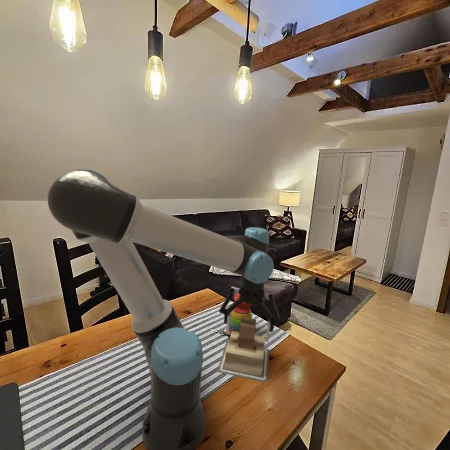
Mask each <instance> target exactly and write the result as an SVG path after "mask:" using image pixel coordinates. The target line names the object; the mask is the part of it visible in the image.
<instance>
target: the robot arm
mask: <svg viewBox="0 0 450 450" xmlns="http://www.w3.org/2000/svg"><path fill="white" fill-rule="evenodd" d="M47 206H48V209H49V211H50V213H51V215H52V217H53V218H54V219H55V220H56V221H57V222H58V223H59V224H60V225H62V226H63V227H64V228H66V229H69V230H71V231H72V233H73V235H74V236H75V238H76V240H78V241H82V242H84V243H85V242H86V243H88V245H89V247H90V248H91V250H92V251H93V253H94V255H95V256H96V258H97V261H99V264H100V265H101V267H102V268H103V271H105V274H106V275H107V276H108V278H109V280H110V282H111V284H112V285H113V287H114V288H115V290H116V291H117V294H118V295H119V296H120V298H121V300H122V302H123V303H124V305H125V307H126V308H127V310H128V312H129V314H130V315H131V316H132V317H131V318H132V320H131V323H130V325H131V328H132V331H133V333H134V334H135V336H136V338H137V340H138V341H139V342H140V344H141V345H142V348H143V352H144V355H145V358H146V362H147V366H148V370H149V374H150V402H149V404H148V406H147V409H146V411H145V414H144V415H143V416H144V417H143V419H142V420H143V421H142V428H141V429H142V433H141V434H142V440H143V443H144V445H145V448H146V449H147V450H196V448H197V447H199V445H200V443H201V441H202V439H203V438H204V436H205V431H206V412H205V409H204V407H203V403H202V400H201V387H202V384H201V383H202V370H203V362H204V354H203V353H204V351H203V345H202V342H201V340H200V337H199V336H198V335H197V334H196V333H195V332H194V331H191V330H189V331H188V329H187V328H185V327H184V325H183V323H182V321H181V320H180V316H179V314H178V313H177V312H176V310H175V308H174V306H173V303H172V302H171V301H170V300H167V299H163V297H162V295H161V294H160V291H159V290H158V288H157V286H156V284H155V282H154V280H153V277H151V274H150V273H149V270H148V268H147V266H146V265H145V263H144V261H143V259H142V258H141V256H140V254H139V251H138V250H137V248H136V246H135V244H138V245H141V246H144V247H148V248H151V249H155V250H157V251H160V252H165V253H168V254H171V255H173V256H177V257H180V258H184V259H187V260H190V261H194V262H197V263H200V264H203V265H207V266H209V267H214V268H216V269H220V270H224V271H226V272H230V273H232V274H235V275H239V276H241V277H240V287H236V286H235V285H232V286H231V287H230V290H229V294H228V295H227V297H226V299H225V300H224V302H223V303H222V305H221V306H220V309H219V313H220V314H223V315H224V317H223V323H224V324H225V325H226V332H225V335H229V331H230V321H231V312H232V311H233V310H234V309H235V308H236V307H237V306H239V305H240V304H241V303H242V302H245V303H247V304H249V303H251V305H254V306H255V305H257V306H258V307H259V308H260V310H261V311H262V313H264V316H265V317H266V319H267V327H266V336H265V343H269V339H270V333H273V332H274V328H275V324H276V323H277V324H279V323H281V315H280V314H279V311H278V308H277V306H276V303H275V300H274V292H273V291H269V292H266V291H265V290H264V289H265V282H266V281H268V280H269V278H271V277H272V274H273V271H274V261H273V259H272V257H271V256H270V255H268V252H269V246H270V242H269V241H270V232H269V230H268V229H265V228H262V227H253V226H252V227H246V229H245V232H244V234H242V235H221V234H219V233H216V232H213V231H211V230H209V229H206V228H204V227H201V226H199V225H197V224H193V223H191V222H189V221H187V220H183V219H181V218H178V217H176V216H173V215H171V214H169V213H165V212H163V211H161V210H158V209H155V208H153V207H150V206H147V205H145V204H143V203H141V201H140V199H139V197H138V196H136V195H134V194H131V193H130V192H129V193H128V192H126V191H125V190H122V189H120V188H119V187H117V186H115V185H114V184H112V183H111V182H110V181H109V180H108V179H107V177H106V176H104V175H102V173H100V172H97V171H94V170H92V169H91V170H90V169H77V170H72V171H69V172H66V173H64V174H63V175H60V176H59V177H58V178H57V179H55V181H54V182H53V183H52V184H51V186H50V188H49V191H48V194H47ZM134 243H135V244H134ZM236 293H239V295H240V297H239V298H238V299H237V300H236V301H235V302H234V301H233V303H231V305H229V303H230V301H231V300H232V298H234V295H235V294H236ZM264 297H265V298H266V300H268V302H269V306H270V309H271V311H272V312H271V311H270V309H269V307H267V305H266V303H265V302H264V300H263V299H264ZM228 305H229V306H228ZM227 306H228V307H227Z"/></svg>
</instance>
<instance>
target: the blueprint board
mask: <svg viewBox="0 0 450 450" xmlns="http://www.w3.org/2000/svg"><path fill="white" fill-rule="evenodd" d="M228 343H229V340H228V341H227V340H226V342H225V345H224V348H223V352H222V355H221V358H220V360H219V363H218V367H217V370H216V372H217V373H221V374H226V375H229V376H233V377H240V378H245V379H247V380H253V381H257V382H262V383H268V379H269V361H270V349H268V348H265V347H264V358H263V367H262V376H257V375H252V374H248V373H243V372H238V371H234V370H229V369H224V366H225V354H226V349H227V346H228Z"/></svg>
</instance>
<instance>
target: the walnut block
mask: <svg viewBox="0 0 450 450" xmlns="http://www.w3.org/2000/svg"><path fill="white" fill-rule="evenodd" d="M256 326H257V319H254V318H252V319H250V318H244V317H242V319H241V323H240V330H239V341H238V347H240V348H245V349H251V350H253V346H254V338H255V335H256Z"/></svg>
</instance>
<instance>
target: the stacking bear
mask: <svg viewBox="0 0 450 450" xmlns="http://www.w3.org/2000/svg"><path fill="white" fill-rule="evenodd" d="M239 297H240V295H239V293H238V292H237V293H236V294H234V295H233V303H234V302H235V301H236V300H237V299H238V298H239ZM251 306H252V304H251V303H249V304H247V303H245V302H242V303H241V304H240V305H239V306H237V307H236V308H235V309H234V310H233V311H232V312H231V321H230V331H229V333H230V334H231V333H232V331H236V332H239V330H240V323H241V319H242V317H244V318H250V319H253V316H252V310H251Z"/></svg>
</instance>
